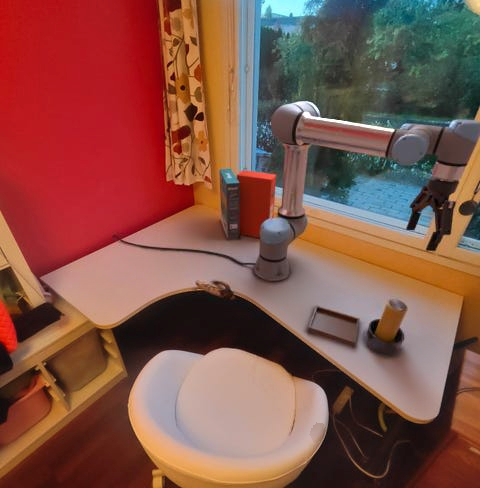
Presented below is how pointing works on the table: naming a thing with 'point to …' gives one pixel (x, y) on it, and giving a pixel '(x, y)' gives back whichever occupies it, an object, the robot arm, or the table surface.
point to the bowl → (380, 345)
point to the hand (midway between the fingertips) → (419, 239)
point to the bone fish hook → (217, 289)
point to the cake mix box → (229, 203)
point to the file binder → (255, 200)
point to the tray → (334, 325)
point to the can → (391, 320)
